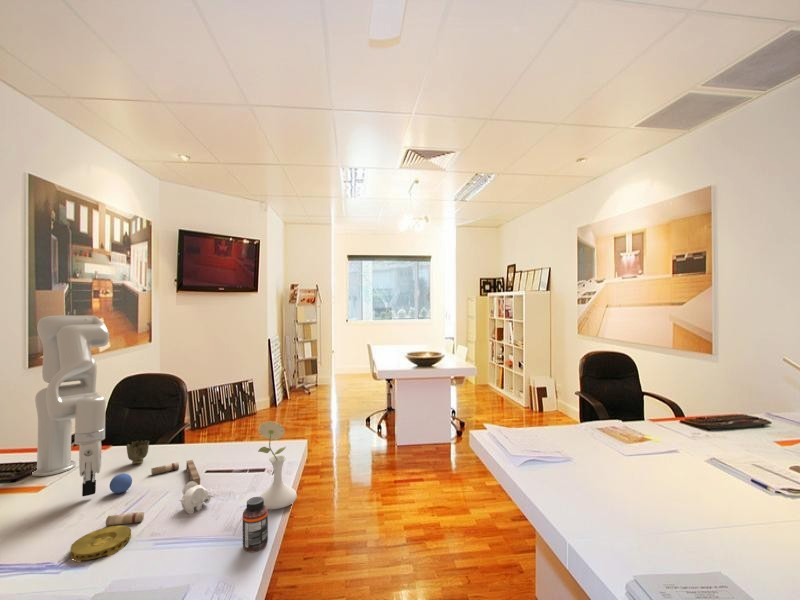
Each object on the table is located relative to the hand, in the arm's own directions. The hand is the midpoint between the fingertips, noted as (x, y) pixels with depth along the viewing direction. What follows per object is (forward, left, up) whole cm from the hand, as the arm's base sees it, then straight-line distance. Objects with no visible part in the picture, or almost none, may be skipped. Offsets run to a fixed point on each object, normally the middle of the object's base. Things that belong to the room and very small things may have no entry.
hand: (89, 494), depth 120 cm
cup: (-26, +13, -2) cm, 29 cm away
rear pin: (-9, +17, 0) cm, 19 cm away
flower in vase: (+39, +47, -2) cm, 61 cm away
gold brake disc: (+34, +5, -2) cm, 34 cm away
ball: (+1, +8, +2) cm, 8 cm away
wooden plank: (+2, +29, -2) cm, 29 cm away
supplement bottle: (+57, +36, -2) cm, 68 cm away
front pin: (+23, +6, 0) cm, 24 cm away
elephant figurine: (+27, +27, -2) cm, 38 cm away
